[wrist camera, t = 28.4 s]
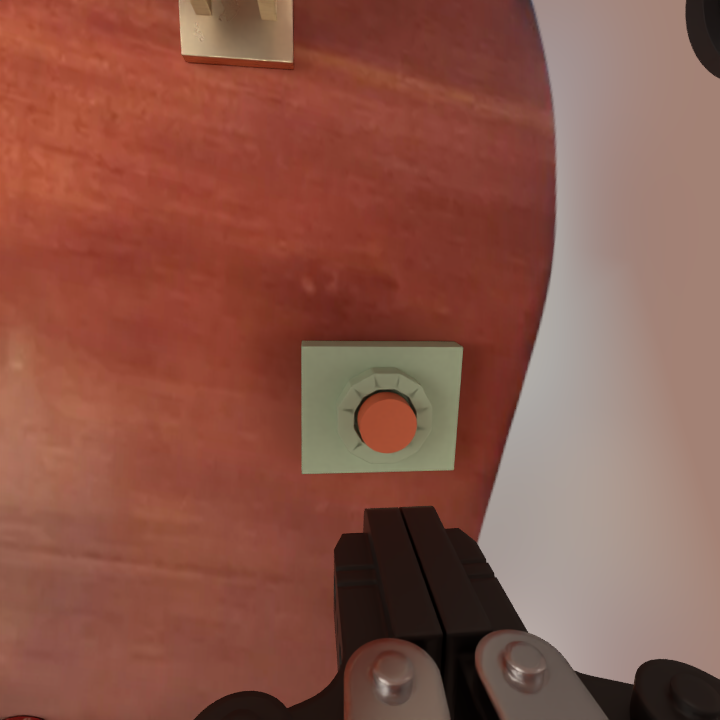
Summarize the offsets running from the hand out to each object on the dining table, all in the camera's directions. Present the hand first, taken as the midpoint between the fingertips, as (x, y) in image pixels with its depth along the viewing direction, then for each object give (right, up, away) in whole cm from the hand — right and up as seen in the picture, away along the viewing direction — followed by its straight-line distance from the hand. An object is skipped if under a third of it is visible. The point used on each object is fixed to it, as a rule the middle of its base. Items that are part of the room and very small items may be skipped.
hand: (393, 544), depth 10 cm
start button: (+1, 0, +24) cm, 24 cm away
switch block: (+1, +1, +27) cm, 27 cm away
